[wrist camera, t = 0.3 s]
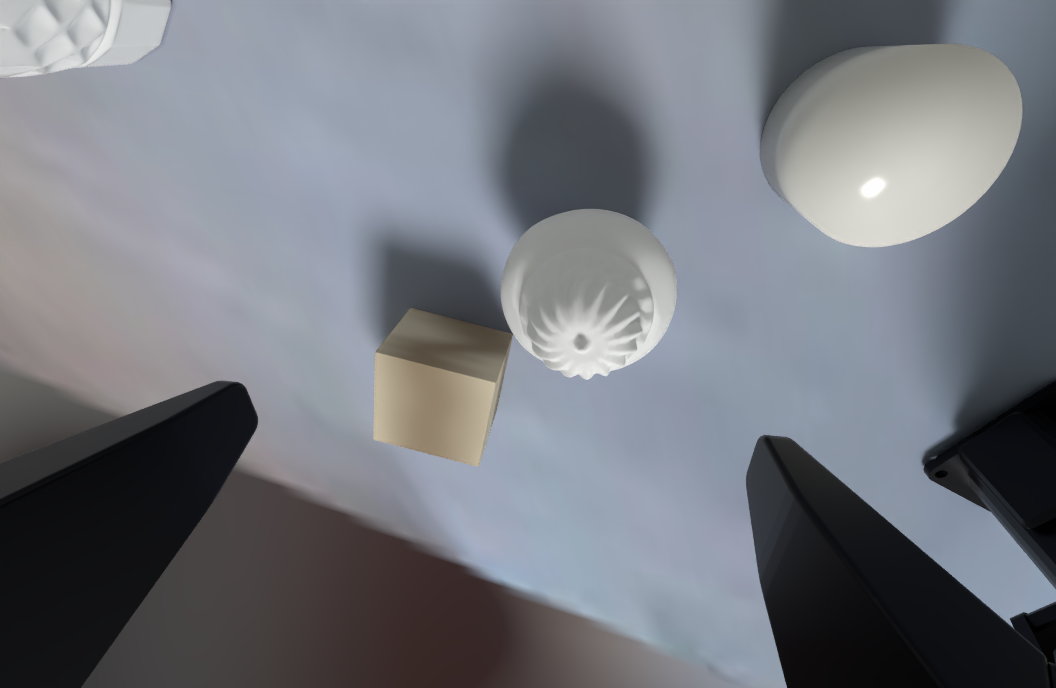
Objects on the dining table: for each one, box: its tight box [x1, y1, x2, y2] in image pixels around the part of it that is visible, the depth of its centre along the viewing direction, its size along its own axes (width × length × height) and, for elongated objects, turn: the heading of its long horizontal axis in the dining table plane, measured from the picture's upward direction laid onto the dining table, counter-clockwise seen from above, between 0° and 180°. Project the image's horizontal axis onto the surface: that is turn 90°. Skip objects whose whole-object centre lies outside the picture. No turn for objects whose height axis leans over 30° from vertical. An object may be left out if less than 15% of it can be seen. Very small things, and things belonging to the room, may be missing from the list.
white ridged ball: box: [501, 209, 677, 379], centre depth 16 cm, size 6×6×7 cm
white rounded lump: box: [760, 44, 1023, 247], centre depth 14 cm, size 5×5×4 cm
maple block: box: [374, 308, 513, 467], centre depth 21 cm, size 5×5×4 cm
